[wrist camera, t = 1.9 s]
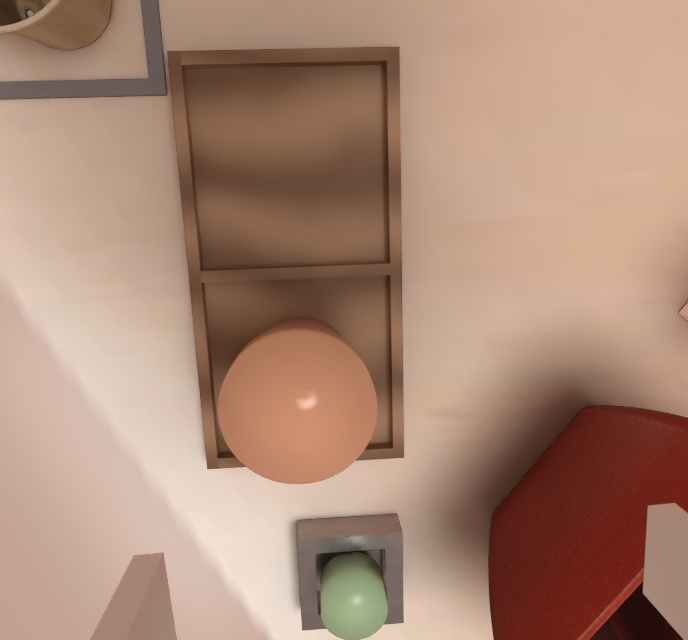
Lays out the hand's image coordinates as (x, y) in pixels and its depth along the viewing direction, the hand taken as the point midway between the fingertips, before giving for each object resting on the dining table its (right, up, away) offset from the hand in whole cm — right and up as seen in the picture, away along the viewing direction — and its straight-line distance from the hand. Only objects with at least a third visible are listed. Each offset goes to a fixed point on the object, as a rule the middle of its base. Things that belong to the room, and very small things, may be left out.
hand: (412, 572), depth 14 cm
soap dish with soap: (-1, -13, +29) cm, 32 cm away
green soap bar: (-1, -13, +27) cm, 30 cm away
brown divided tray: (-5, +10, +24) cm, 26 cm away
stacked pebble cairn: (-5, +3, +24) cm, 25 cm away
